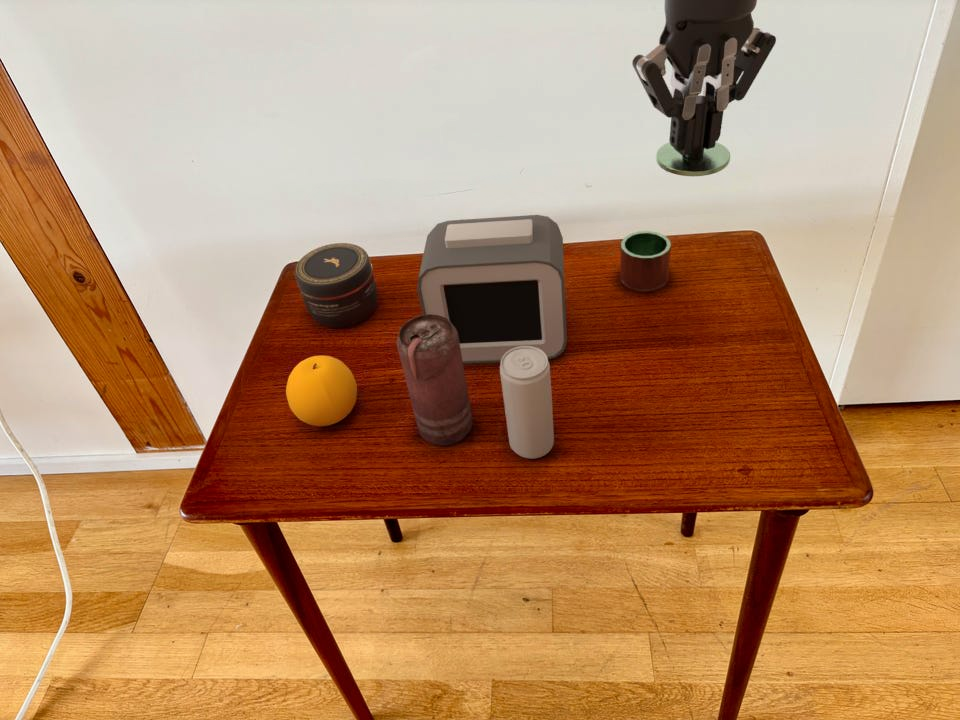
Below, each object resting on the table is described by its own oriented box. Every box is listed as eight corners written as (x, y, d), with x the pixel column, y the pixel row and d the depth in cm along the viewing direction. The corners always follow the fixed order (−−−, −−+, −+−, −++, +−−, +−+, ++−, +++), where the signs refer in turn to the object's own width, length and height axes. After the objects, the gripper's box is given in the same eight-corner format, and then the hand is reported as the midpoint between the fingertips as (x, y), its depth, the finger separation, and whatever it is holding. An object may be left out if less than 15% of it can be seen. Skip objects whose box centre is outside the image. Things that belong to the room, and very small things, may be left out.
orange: (295, 396, 85) (276, 349, 80) (359, 381, 86) (345, 334, 81) (296, 444, 80) (276, 397, 75) (365, 428, 80) (350, 380, 75)
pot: (654, 260, 98) (656, 226, 94) (676, 284, 93) (679, 249, 89) (612, 272, 97) (613, 238, 93) (633, 297, 92) (634, 262, 89)
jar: (327, 284, 102) (313, 239, 97) (391, 289, 100) (380, 243, 94) (296, 328, 95) (279, 282, 90) (364, 335, 93) (350, 288, 88)
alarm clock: (433, 365, 87) (410, 258, 76) (442, 307, 95) (423, 204, 85) (567, 359, 85) (563, 249, 74) (565, 301, 93) (560, 195, 83)
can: (410, 445, 77) (384, 349, 68) (430, 404, 82) (408, 308, 73) (462, 453, 76) (443, 356, 66) (480, 411, 80) (464, 314, 71)
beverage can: (543, 421, 78) (536, 338, 70) (562, 452, 74) (558, 368, 66) (502, 436, 77) (491, 354, 69) (520, 468, 73) (510, 385, 65)
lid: (704, 142, 74) (711, 78, 69) (743, 171, 68) (754, 104, 64) (643, 158, 72) (646, 94, 68) (678, 188, 67) (684, 122, 63)
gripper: (662, -24, 54) (648, 182, 65) (819, -58, 56) (779, 147, 68) (617, -45, 59) (611, 149, 71) (762, -75, 62) (734, 118, 73)
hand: (693, 147), depth 69 cm, fingers closed on lid
